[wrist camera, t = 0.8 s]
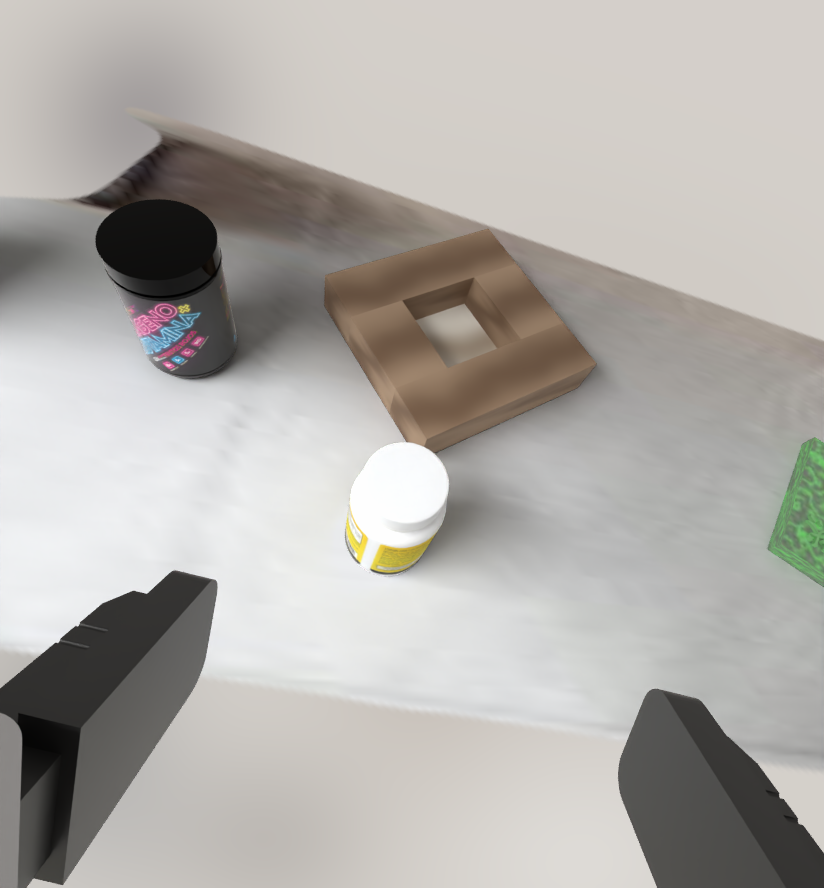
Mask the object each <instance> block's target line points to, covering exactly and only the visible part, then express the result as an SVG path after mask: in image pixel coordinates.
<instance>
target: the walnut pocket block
mask: <svg viewBox="0 0 824 888" xmlns="http://www.w3.org/2000/svg"><path fill="white" fill-rule="evenodd" d="M324 306H325V308H326V310H327V311H328V313H329V315H330V316H331V318H332V319H333V321H334V323H335V324H336V326H337V328H338V329H339V331H340V333H341V334H342V336H343V338H344V339H345V341H346V343H347V344H348V346H349V348H350V349H351V351H352V353H353V354H354V356H355V357H356V359H357V361H358V362H359V364H360V366H361V367H362V369H363V371H364V372H365V374H366V376H367V377H368V379H369V381H370V382H371V384H372V386H373V387H374V389H375V391H376V392H377V394H378V395H379V397H380V399H381V400H382V402H383V404H384V405H385V407H386V409H387V410H388V412H389V414H390V415H391V417H392V419H393V420H394V422H395V424H396V425H397V427H398V429H399V430H400V432H401V433H402V435H403V437H404V438H405V440H406V442H409V443H415V444H418V445H421V446H423V447H425V448H427V449H429V450H430V451H432V452H433V453H436V452H438V451H441V450H443V449H445V448H447V447H449V446H451V445H454V444H456V443H458V442H460V441H462V440H465V439H467V438H469V437H471V436H473V435H476V434H478V433H480V432H482V431H484V430H487V429H489V428H491V427H493V426H495V425H498V424H500V423H502V422H504V421H506V420H508V419H511V418H513V417H515V416H517V415H519V414H522V413H524V412H526V411H528V410H530V409H533V408H535V407H537V406H539V405H541V404H544V403H546V402H548V401H550V400H552V399H555V398H557V397H559V396H561V395H563V394H565V393H568V392H570V391H572V390H574V389H576V388H578V387H579V385H580V384H581V383H582V382H583V380H584V379H585V378H586V377H587V376H588V374H589V373H590V372H591V371H592V369H593V368H594V367H595V366H596V362H595V361H594V360H593V359H592V357H591V356H590V355H589V354H588V352H587V351H586V350H585V349H584V347H583V346H582V345H581V344H580V342H579V341H578V340H577V339H576V337H575V336H574V335H573V334H572V332H571V331H570V330H569V329H568V327H567V326H566V325H565V324H564V322H563V321H562V320H561V319H560V317H559V316H558V315H557V314H556V312H555V311H554V310H553V309H552V307H551V306H550V305H549V304H548V302H547V301H546V300H545V299H544V298H543V296H542V295H541V294H540V293H539V291H538V290H537V289H536V288H535V286H534V285H533V284H532V283H531V281H530V280H529V279H528V278H527V276H526V275H525V274H524V273H523V271H522V270H521V269H520V268H519V266H518V265H517V264H516V263H515V261H514V260H513V259H512V258H511V256H510V255H509V254H508V253H507V251H506V250H505V249H504V248H503V246H502V245H501V244H500V243H499V241H498V240H497V239H496V238H495V236H494V235H493V234H492V233H491V231H490V230H489V229H486V230H482V231H479V232H475V233H472V234H468V235H465V236H461V237H458V238H454V239H451V240H447V241H443V242H440V243H436V244H433V245H429V246H426V247H422V248H419V249H415V250H412V251H408V252H405V253H401V254H398V255H394V256H391V257H387V258H384V259H380V260H377V261H373V262H370V263H366V264H363V265H359V266H356V267H352V268H349V269H345V270H342V271H338V272H335V273H331V274H328V275H325V295H324Z"/></svg>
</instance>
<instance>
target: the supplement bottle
mask: <svg viewBox="0 0 824 888" xmlns="http://www.w3.org/2000/svg"><path fill="white" fill-rule="evenodd" d="M448 493H449V478H448V473H447V471H446V468H445V466H444V465H443V463H442V462H441V460H440V459H439V458H438V457H437V456H436V455H435V454H434V453H433V452H432V451H430V450H429V449H427V448H425V447H423V446H421V445H418V444H415V443H409V442H397V443H392V444H389V445H386V446H384V447H382V448H380V449H379V450H378V451H376V452H375V453H374V454H373V455H372V456H371V457H370V459H369V460H368V462H367V463H366V465H365V468H364V469H363V470H362V471H361V473H360V474H359V475H358V477H357V478H356V480H355V482H354V484H353V487H352V490H351V495H350V502H349V508H348V515H347V522H346V529H345V541H346V546H347V549H348V552H349V554H350V556H351V557H352V559H353V560H354V561H355V562H356V563H357V564H358V565H359V566H360V567H361V568H363V569H364V570H366V571H368V572H370V573H373V574H376V575H380V576H394V575H398V574H401V573H403V572H405V571H407V570H409V569H410V568H411V567H413V566H414V565H415V564H416V563H417V561H418V560H419V559H420V558H421V556H422V555H423V553H424V551H425V550H426V548H427V547H428V545H429V544H430V542H431V541H432V539H433V538H434V536H435V534H436V533H437V531H438V530H439V528H440V527H441V525H442V523H443V520H444V517H445V514H446V507H447V501H446V500H447V497H448Z"/></svg>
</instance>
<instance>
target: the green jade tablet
mask: <svg viewBox="0 0 824 888" xmlns="http://www.w3.org/2000/svg"><path fill="white" fill-rule="evenodd" d="M768 550H769V551H771V552H772V553H774V554H775V555H777V556H778V557H780V558H781V559H783V560H784V561H786V562H787V563H789V564H790V565H792V566H793V567H795V568H796V569H798V570H799V571H801V572H802V573H804V574H805V575H807V576H808V577H810V578H811V579H813V580H814V581H816V582H817V583H819V584H820V585H821V586H823V587H824V443H823V442H821V441H820V440H818V439H817V438H813V439H811V440H809V441H807V442H805V443H804V444H802V447H801V450H800V453H799V456H798V459H797V462H796V465H795V468H794V471H793V474H792V477H791V480H790V483H789V486H788V489H787V492H786V495H785V498H784V501H783V504H782V507H781V510H780V513H779V516H778V519H777V522H776V525H775V528H774V531H773V534H772V537H771V540H770V543H769V546H768Z"/></svg>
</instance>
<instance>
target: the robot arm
mask: <svg viewBox="0 0 824 888" xmlns="http://www.w3.org/2000/svg"><path fill="white" fill-rule="evenodd" d="M216 596H217V582H216V580H213V579H209V578H205V577H201V576H197V575H192V574H188V573H184V572H180V571H176V570H175V571H172V572H171V573H169V574H168V575H167V576H166V577H165V578H164V579H163V580H162V581H161V582H159V583H158V584H157V585H156V586H155V587H154V588H153V589H152V590H151V591H150V592H149V593H148V594H145V593H140V592H136V591H132V592H129V593H127V594H124V595H122V596H120V597H117V598H115V599H112V600H110V601H108V602H105V603H103V604H102V605H100V606H99V607H98V608H97V609H96V610H94V611H93V612H92V613H91V614H90V615H88V616H87V617H86V618H85V619H84V620H82V621H81V622H80V624H79V626H78V627H77V626H75V627H74V628H73V629H71V630H70V631H69V632H68V633H67V634H65V635H64V636H63V637H62V638H61V639H60V642H59V643H55V644H53V645H52V646H51V647H50V648H49V649H47V650H46V651H45V652H44V653H42V654H41V655H40V656H39V657H38V658H36V659H35V660H34V661H33V662H32V663H30V664H29V665H28V666H27V667H26V668H24V670H22V671H21V672H20V673H18V674H17V675H16V676H15V677H14V678H12V679H11V680H10V681H9V682H8V683H6V684H5V685H4V686H3V687H2V688H0V888H27V886H28V885H29V883H30V882H31V881H32V879H33V878H35V879H39V880H43V881H48V882H52V883H57V884H60V885H63V884H64V882H65V881H66V879H67V878H68V876H69V875H70V874H71V872H72V870H73V869H74V867H75V866H76V864H77V863H78V862H79V860H80V858H81V857H82V855H83V854H84V852H85V851H86V850H87V848H88V847H89V845H90V843H91V842H92V840H93V839H94V838H95V836H96V834H97V833H98V832H99V830H100V829H101V827H102V826H103V824H104V823H105V821H106V820H107V818H108V816H109V815H110V814H111V812H112V811H113V809H114V808H115V806H116V805H117V803H118V802H119V800H120V799H121V797H122V796H123V794H124V793H125V791H126V790H127V788H128V786H129V785H130V784H131V782H132V781H133V779H134V778H135V776H136V775H137V773H138V772H139V770H140V769H141V767H142V766H143V764H144V763H145V761H146V760H147V758H148V756H149V755H150V754H151V752H152V751H153V749H154V748H155V746H156V744H157V743H158V742H159V740H160V739H161V737H162V736H163V734H164V732H165V731H166V730H167V728H168V727H169V725H170V724H171V722H172V721H173V719H174V718H175V716H176V715H177V713H178V711H179V710H180V709H181V707H182V706H183V704H184V703H185V701H186V700H187V698H188V697H189V695H190V694H191V692H192V690H193V689H194V687H195V685H196V683H197V681H198V678H199V676H200V673H201V671H202V668H203V665H204V661H205V658H206V653H207V647H208V641H209V636H210V630H211V624H212V619H213V613H214V607H215V601H216ZM618 781H619V790H620V794H621V797H622V800H623V803H624V805H625V808H626V810H627V813H628V815H629V818H630V820H631V823H632V825H633V828H634V830H635V833H636V836H637V838H638V840H639V843H640V846H641V848H642V851H643V853H644V856H645V858H646V861H647V863H648V865H649V868H650V871H651V873H652V876H653V878H654V880H655V883H656V886H657V888H824V853H823V852H822V850H821V849H820V848H819V846H818V845H817V844H816V842H815V841H814V839H813V838H812V837H811V836H810V834H809V833H808V831H807V830H806V829H805V827H804V826H803V825H800V824H798V818H797V817H796V815H795V814H794V812H793V811H792V810H791V808H790V807H789V806H788V805H787V803H786V802H785V800H784V799H780V798H779V792H778V791H777V790H776V788H775V787H774V786H773V784H772V783H771V781H770V780H769V779H768V778H767V776H766V775H765V773H764V772H763V771H762V769H761V768H760V767H759V765H758V764H757V763H756V762H755V761H754V760H753V759H752V758H751V757H749V756H748V755H747V754H746V753H745V752H744V751H743V750H742V749H741V748H740V747H739V746H738V745H736V744H735V743H734V742H733V741H732V740H731V739H730V738H729V737H727V736H726V735H725V733H724V732H723V730H722V729H721V728H720V726H719V725H718V723H717V722H716V721H715V719H714V718H713V716H712V715H711V714H710V712H709V711H708V709H707V708H706V707H705V705H704V704H703V703H702V702H701V701H700V700H698V699H696V698H692V697H688V696H684V695H680V694H676V693H672V692H668V691H664V690H659V689H652V690H650V691H649V692H648V693H647V695H646V696H645V698H644V700H643V703H642V705H641V708H640V710H639V713H638V715H637V718H636V720H635V723H634V725H633V728H632V730H631V733H630V735H629V738H628V740H627V743H626V745H625V748H624V750H623V753H622V755H621V758H620V763H619V771H618Z"/></svg>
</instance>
